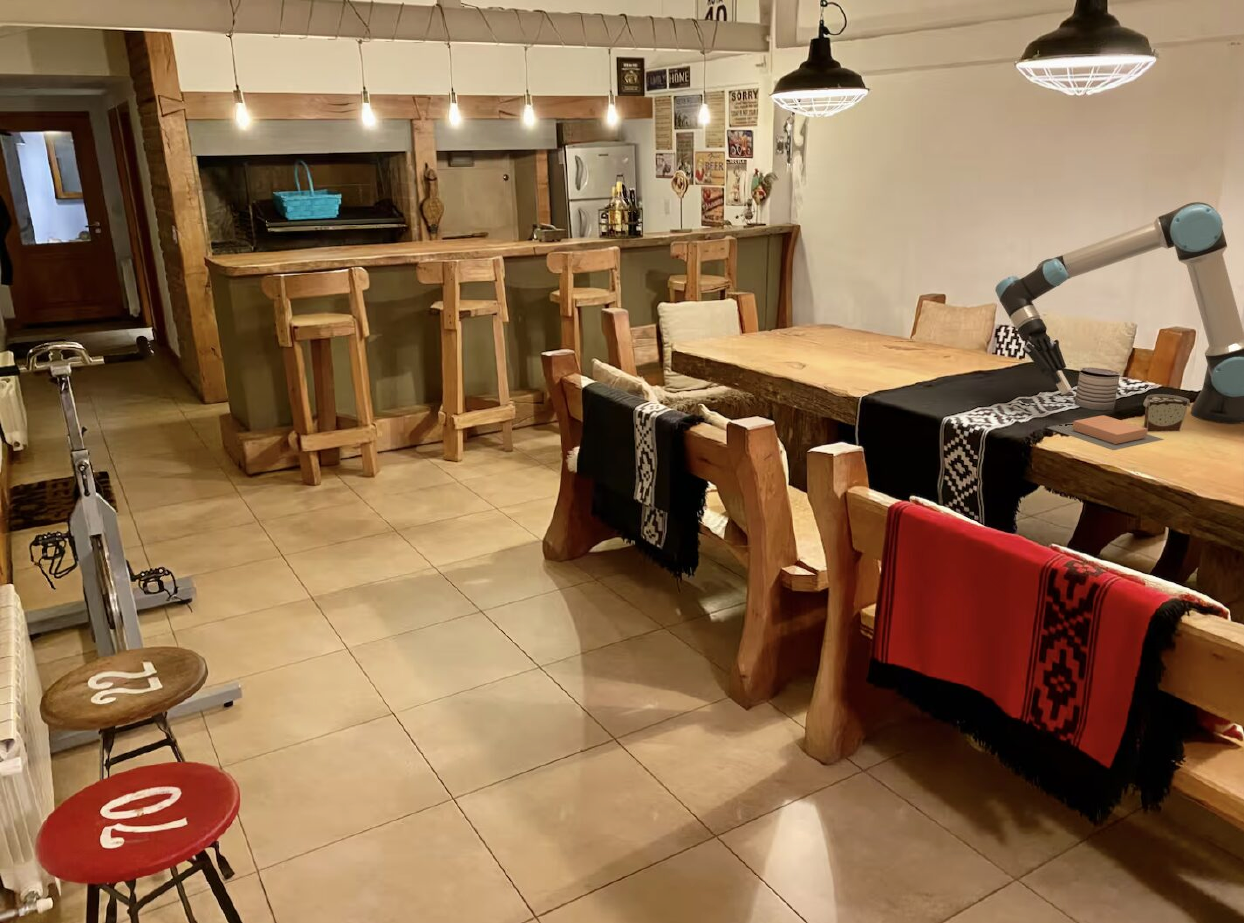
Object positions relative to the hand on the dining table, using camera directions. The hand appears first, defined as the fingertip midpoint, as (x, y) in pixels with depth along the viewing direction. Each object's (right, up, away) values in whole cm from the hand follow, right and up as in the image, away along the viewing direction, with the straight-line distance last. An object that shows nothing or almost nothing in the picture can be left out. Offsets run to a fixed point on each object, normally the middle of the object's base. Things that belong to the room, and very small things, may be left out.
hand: (1066, 391), depth 269 cm
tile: (+4, -9, -5) cm, 11 cm away
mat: (+6, -13, -9) cm, 17 cm away
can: (+17, -4, +18) cm, 25 cm away
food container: (+23, -11, -4) cm, 26 cm away
